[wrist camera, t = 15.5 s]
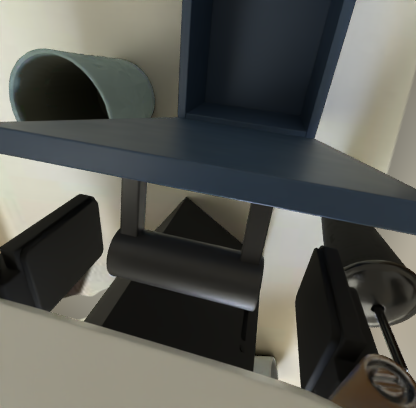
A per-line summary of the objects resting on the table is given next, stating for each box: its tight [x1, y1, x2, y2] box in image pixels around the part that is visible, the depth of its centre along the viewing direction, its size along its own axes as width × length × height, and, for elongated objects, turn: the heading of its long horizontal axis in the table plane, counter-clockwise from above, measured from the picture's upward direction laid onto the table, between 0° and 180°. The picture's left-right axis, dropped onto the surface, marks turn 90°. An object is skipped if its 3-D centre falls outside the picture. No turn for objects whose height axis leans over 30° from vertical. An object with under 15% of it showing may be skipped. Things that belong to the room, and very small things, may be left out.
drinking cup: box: [322, 217, 416, 372], centre depth 26 cm, size 8×8×20 cm
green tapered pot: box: [9, 49, 155, 122], centre depth 29 cm, size 10×10×12 cm
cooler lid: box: [0, 117, 416, 311], centre depth 16 cm, size 18×13×5 cm
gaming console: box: [84, 197, 260, 372], centre depth 31 cm, size 15×15×30 cm
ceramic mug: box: [253, 356, 278, 380], centre depth 50 cm, size 11×8×8 cm
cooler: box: [178, 0, 356, 139], centre depth 24 cm, size 18×13×8 cm
